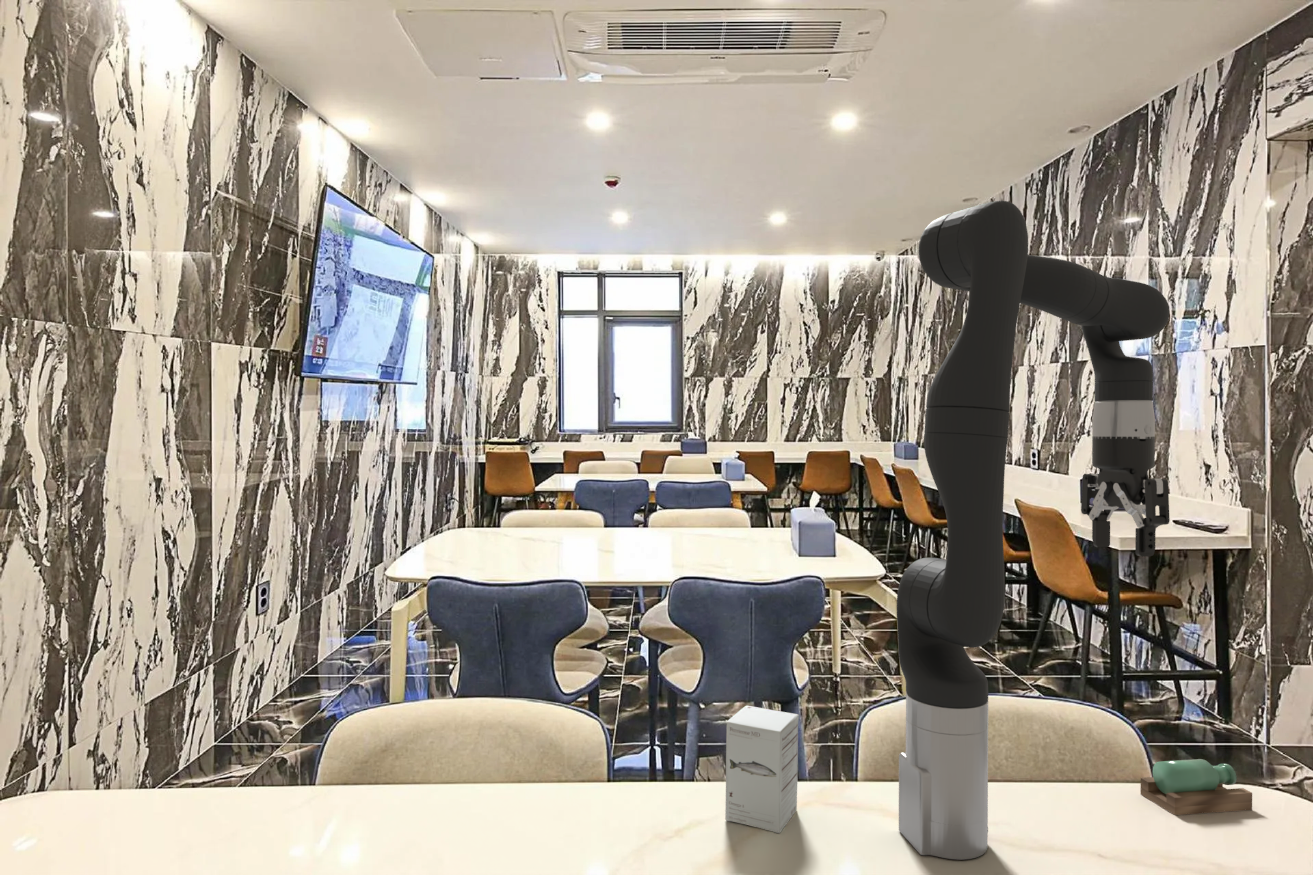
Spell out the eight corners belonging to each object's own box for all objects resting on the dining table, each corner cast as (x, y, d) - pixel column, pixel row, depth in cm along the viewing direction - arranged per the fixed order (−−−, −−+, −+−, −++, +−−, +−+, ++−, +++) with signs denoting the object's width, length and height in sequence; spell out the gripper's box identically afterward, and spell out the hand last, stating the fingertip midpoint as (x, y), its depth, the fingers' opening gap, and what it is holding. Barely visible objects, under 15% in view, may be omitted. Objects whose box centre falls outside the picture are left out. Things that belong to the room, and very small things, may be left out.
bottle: (1176, 799, 104) (1175, 767, 104) (1152, 787, 108) (1152, 756, 108) (1241, 795, 105) (1240, 764, 105) (1216, 783, 109) (1215, 753, 109)
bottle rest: (1174, 814, 103) (1174, 797, 103) (1140, 794, 109) (1140, 777, 109) (1252, 809, 105) (1252, 792, 104) (1214, 789, 110) (1214, 773, 110)
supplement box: (723, 821, 101) (723, 720, 101) (745, 798, 108) (745, 703, 108) (780, 835, 98) (780, 730, 98) (799, 810, 104) (799, 712, 104)
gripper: (1065, 434, 119) (1064, 544, 119) (1135, 434, 105) (1134, 559, 105) (1112, 434, 120) (1111, 543, 120) (1187, 434, 106) (1187, 558, 106)
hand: (1122, 551), depth 112 cm, fingers open, 8 cm apart
